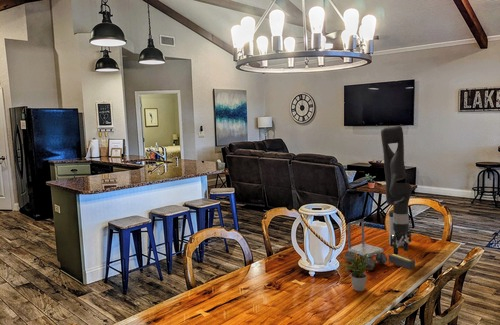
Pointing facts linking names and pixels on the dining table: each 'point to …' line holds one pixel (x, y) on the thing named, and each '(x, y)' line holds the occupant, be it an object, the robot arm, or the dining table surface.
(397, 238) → the robot arm
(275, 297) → the dining table surface
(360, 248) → the trolley
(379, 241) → the dining table surface
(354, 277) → the house plant
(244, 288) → the dining table surface
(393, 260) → the block
